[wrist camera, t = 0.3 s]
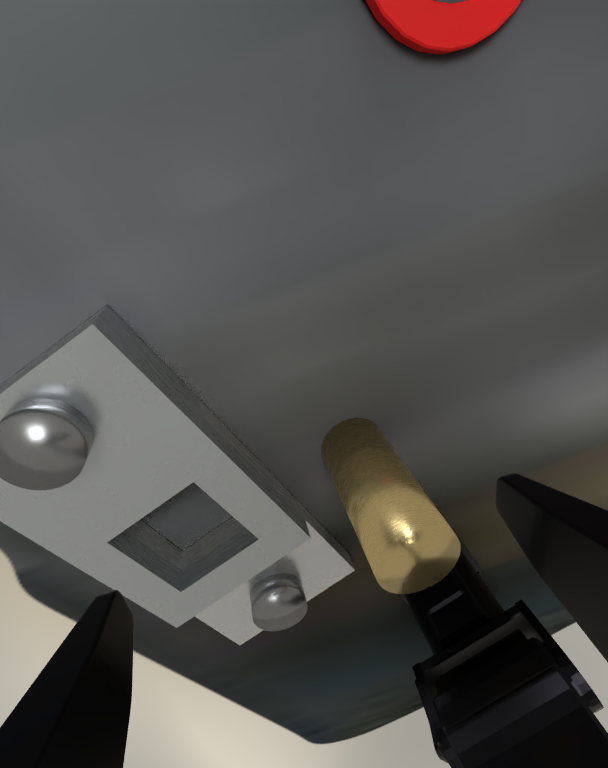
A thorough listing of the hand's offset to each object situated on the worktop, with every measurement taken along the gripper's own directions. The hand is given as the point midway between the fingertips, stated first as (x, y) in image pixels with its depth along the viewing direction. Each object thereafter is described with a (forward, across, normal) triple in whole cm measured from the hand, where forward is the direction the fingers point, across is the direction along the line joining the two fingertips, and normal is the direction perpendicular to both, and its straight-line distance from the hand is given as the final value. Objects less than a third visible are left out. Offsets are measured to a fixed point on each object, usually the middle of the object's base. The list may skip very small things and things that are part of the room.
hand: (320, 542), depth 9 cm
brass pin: (+14, -4, +8) cm, 17 cm away
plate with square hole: (+14, +6, +9) cm, 18 cm away
